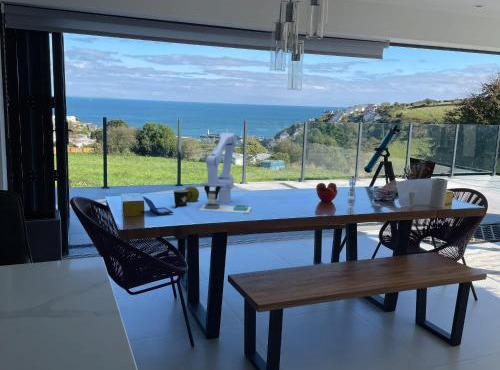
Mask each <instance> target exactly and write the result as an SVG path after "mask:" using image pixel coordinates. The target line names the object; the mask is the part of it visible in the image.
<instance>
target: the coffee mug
mask: <svg viewBox="0 0 500 370" xmlns="http://www.w3.org/2000/svg"><path fill="white" fill-rule="evenodd" d="M184 189H185V188H184ZM184 189H182V188H181V189H173V198H174V205H175V206H174V207H175V208H176V209H178V208H179V207H180V208H181V207H183V208H184V207H187V206H188V205H187V203H188V202H187V201H188V200H189V199H190V198H191V197H192V192H188V190H184ZM188 193H191V197H190V198H189V199H188V200H187V197H188Z"/></svg>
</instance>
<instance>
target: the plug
mask: <svg viewBox="0 0 500 370" xmlns="http://www.w3.org/2000/svg"><path fill="white" fill-rule="evenodd" d="M215 195H216V192H215V190H210V191H209V192H208V198H207V200H208V202H207V203H208V204H217V200H215Z"/></svg>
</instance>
